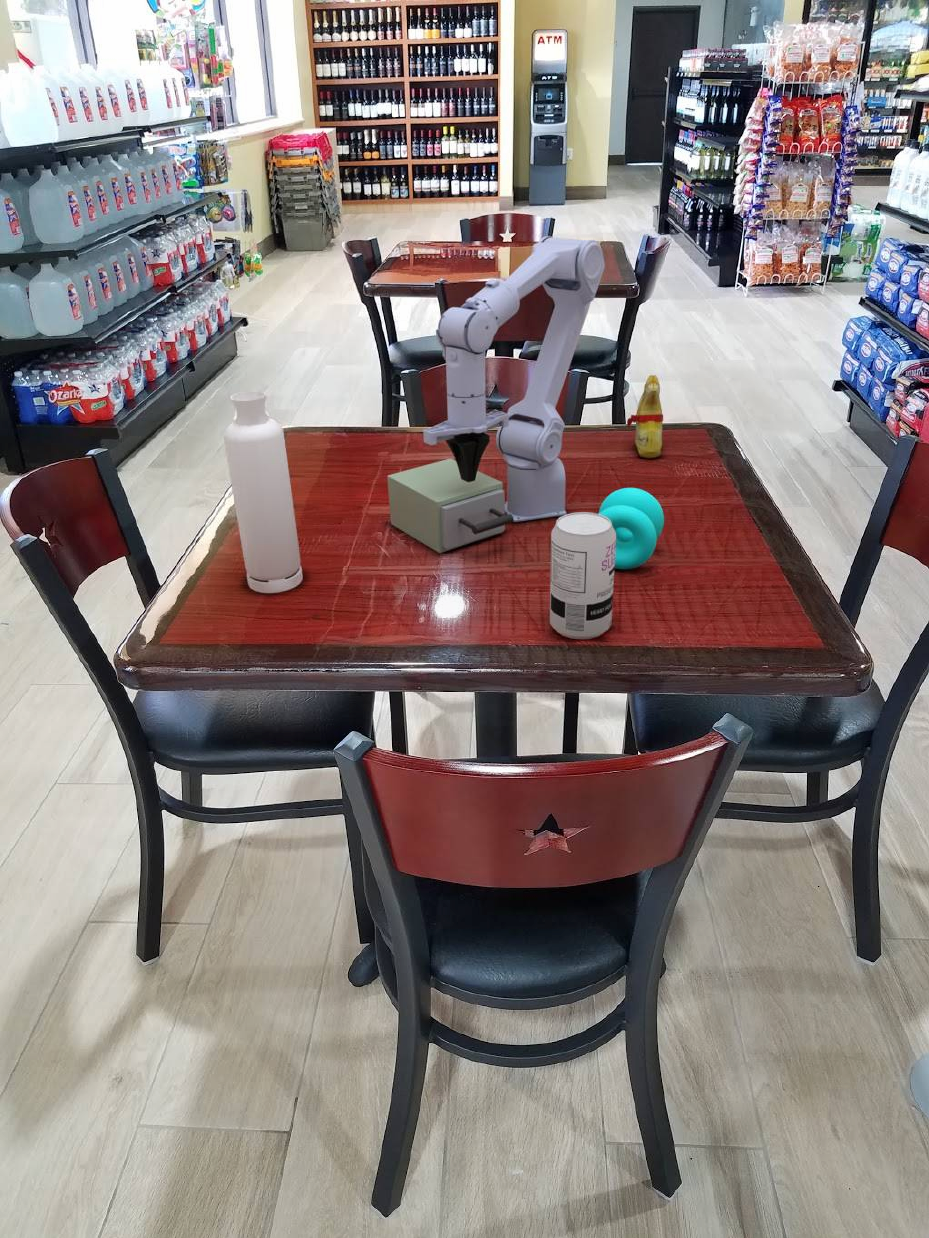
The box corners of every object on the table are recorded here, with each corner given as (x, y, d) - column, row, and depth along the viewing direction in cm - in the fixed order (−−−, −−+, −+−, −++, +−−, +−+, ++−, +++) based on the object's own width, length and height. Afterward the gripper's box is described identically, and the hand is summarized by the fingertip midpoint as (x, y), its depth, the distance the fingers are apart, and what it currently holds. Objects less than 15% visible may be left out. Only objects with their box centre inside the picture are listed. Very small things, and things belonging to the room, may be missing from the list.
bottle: (306, 587, 137) (281, 400, 123) (250, 596, 135) (219, 407, 121) (298, 564, 143) (274, 384, 130) (245, 572, 142) (215, 391, 128)
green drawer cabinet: (503, 532, 152) (502, 482, 147) (439, 553, 146) (437, 502, 141) (452, 505, 162) (450, 458, 158) (390, 524, 156) (387, 475, 152)
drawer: (524, 540, 146) (524, 500, 143) (465, 560, 141) (464, 519, 137) (457, 505, 160) (455, 467, 156) (400, 522, 154) (398, 483, 151)
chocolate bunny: (657, 441, 188) (663, 367, 180) (664, 460, 178) (670, 382, 171) (623, 441, 188) (627, 367, 181) (628, 460, 179) (632, 383, 171)
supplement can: (544, 613, 128) (546, 512, 120) (604, 609, 128) (609, 508, 121) (554, 643, 121) (556, 538, 113) (617, 639, 121) (623, 534, 114)
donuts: (662, 548, 145) (667, 488, 140) (652, 576, 136) (657, 513, 131) (599, 541, 148) (602, 482, 143) (585, 568, 139) (587, 506, 134)
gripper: (441, 407, 131) (444, 498, 138) (521, 389, 138) (520, 476, 145) (413, 397, 136) (418, 484, 143) (492, 380, 143) (493, 464, 150)
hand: (468, 479), depth 144 cm, fingers closed
